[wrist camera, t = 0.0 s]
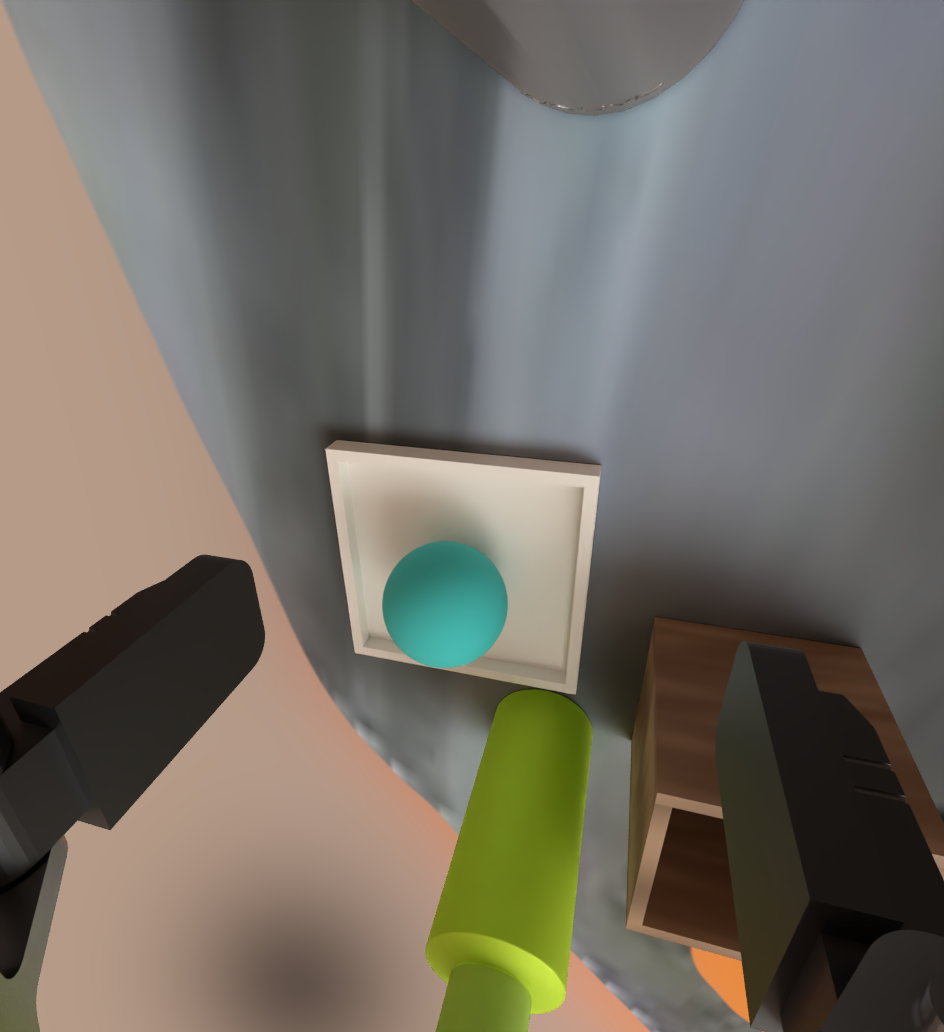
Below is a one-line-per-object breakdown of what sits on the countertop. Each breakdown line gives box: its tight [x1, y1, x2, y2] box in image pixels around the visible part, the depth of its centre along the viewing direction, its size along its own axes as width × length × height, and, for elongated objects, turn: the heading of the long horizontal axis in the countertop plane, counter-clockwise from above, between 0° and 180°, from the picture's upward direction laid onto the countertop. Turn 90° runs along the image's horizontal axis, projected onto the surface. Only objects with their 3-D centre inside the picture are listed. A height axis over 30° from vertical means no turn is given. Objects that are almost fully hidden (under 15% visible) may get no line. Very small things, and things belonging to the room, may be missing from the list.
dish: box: [325, 440, 602, 695], centre depth 30 cm, size 13×13×1 cm
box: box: [626, 617, 944, 961], centre depth 26 cm, size 10×9×10 cm
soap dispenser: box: [426, 689, 592, 1032], centre depth 26 cm, size 6×7×20 cm
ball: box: [382, 541, 508, 668], centre depth 27 cm, size 6×6×6 cm
